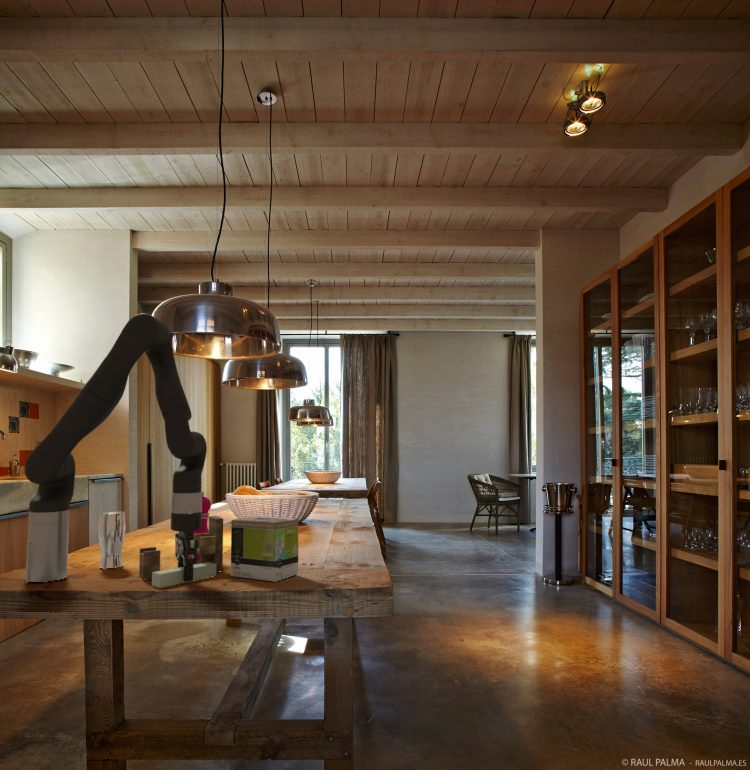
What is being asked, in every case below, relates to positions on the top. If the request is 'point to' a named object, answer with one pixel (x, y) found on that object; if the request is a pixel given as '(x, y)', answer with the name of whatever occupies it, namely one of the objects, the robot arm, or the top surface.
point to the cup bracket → (211, 543)
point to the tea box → (264, 548)
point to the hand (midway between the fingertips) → (185, 578)
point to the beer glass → (111, 538)
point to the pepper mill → (203, 518)
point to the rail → (176, 574)
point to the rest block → (149, 562)
